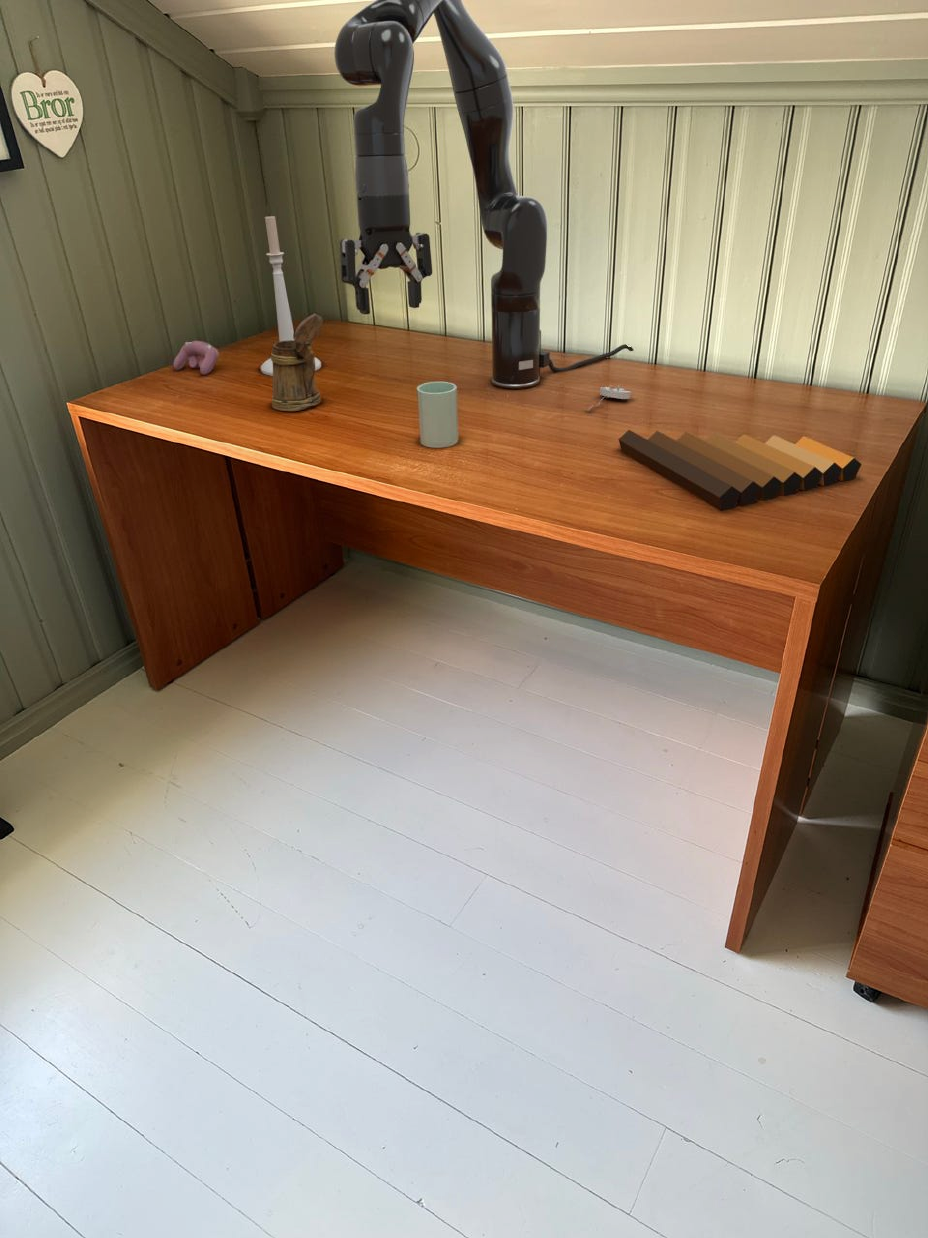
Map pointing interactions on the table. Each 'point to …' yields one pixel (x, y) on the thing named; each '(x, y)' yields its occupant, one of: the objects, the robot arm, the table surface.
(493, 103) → the robot arm
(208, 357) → the video game controller
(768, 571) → the table surface
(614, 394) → the game controller
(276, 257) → the candlestick
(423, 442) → the cup
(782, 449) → the pan flute
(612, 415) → the table surface
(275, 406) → the wooden mug
